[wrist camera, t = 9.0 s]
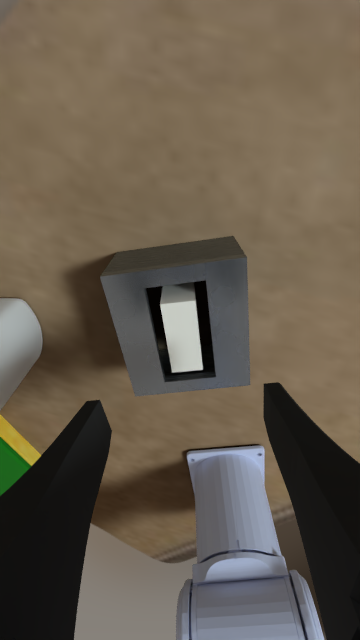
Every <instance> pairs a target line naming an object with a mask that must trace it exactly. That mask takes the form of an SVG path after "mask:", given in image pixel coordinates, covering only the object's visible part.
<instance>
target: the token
mask: <svg viewBox="0 0 360 640" xmlns="http://www.w3.org/2000/svg"><path fill="white" fill-rule="evenodd" d="M160 307H161V313H162V318H163V324H164V329H165V335H166V341H167V346H168V352H169V357H170V363H171V369H172V373H173V372H184V371H195V370H203V366H202V355H201V344H200V333H199V324H198V314H197V305H196V296H195V286H194V282H189V283H181V284H173V285H165V286H163V288H162V295H161V301H160Z"/></svg>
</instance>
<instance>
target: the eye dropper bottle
mask: <svg viewBox="0 0 360 640" xmlns="http://www.w3.org/2000/svg"><path fill="white" fill-rule="evenodd" d="M42 345H43V338H42V331H41V327H40V324H39V322H38V320H37V318H36V316H35V314H34V312H33V311H32V309H31V308H30V306H29V305H28V304H27V303H26V302H25V301H24V300H22V299H18V298H0V410H1V409H2V408H3V406H4V405H5V404H6V402H7V401H8V400H9V398H10V397H11V395H12V394H13V393H14V391H15V390H16V389H17V387H18V386H19V384H20V383H21V382H22V380H23V379H24V377H25V376H26V375H27V373H28V372H29V370H30V369H31V368H32V366H33V365H34V363H35V362H36V361H37V359H38V358H39V356H40V354H41V351H42Z"/></svg>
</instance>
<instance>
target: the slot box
mask: <svg viewBox="0 0 360 640" xmlns="http://www.w3.org/2000/svg"><path fill="white" fill-rule="evenodd" d="M100 279H101V282H102V286H103V289H104V292H105V296H106V299H107V302H108V306H109V309H110V313H111V316H112V319H113V323H114V326H115V329H116V333H117V336H118V340H119V343H120V346H121V350H122V353H123V356H124V360H125V363H126V366H127V370H128V373H129V377H130V380H131V383H132V387H133V390H134V393H135V396H144V395H154V394H164V393H174V392H185V391H195V390H205V389H215V388H225V387H236V386H246V385H250V359H249V321H248V283H247V257H246V255H245V254H244V252H243V250H242V249H241V247H240V246H239V244H238V242H237V241H236V239H235V238H234V236H231V237H224V238H216V239H209V240H202V241H195V242H188V243H180V244H173V245H166V246H159V247H152V248H144V249H137V250H130V251H123V252H117V253H116V254H115V256H114V257H113V259H112V260H111V261H110V263H109V264H108V266H107V267H106V269H105V270H104V272H103V273H102V274H101V276H100ZM205 280H206V288H207V297H208V307H209V317H210V326H211V336H212V344H208V345H201V355H202V366H203V370H195V371H184V372H173V373H172V369H171V363H170V357H169V352H168V349H163V350H159V346H158V342H157V337H156V333H155V328H154V323H153V319H152V314H151V310H150V305H149V300H148V296H147V291H146V288H150V287H158V286H165V285H173V284H181V283H189V282H197V281H205Z"/></svg>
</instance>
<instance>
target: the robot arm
mask: <svg viewBox="0 0 360 640" xmlns="http://www.w3.org/2000/svg"><path fill="white" fill-rule="evenodd" d="M264 421H265V425H266V429H267V433H268V437H269V441H270V444H271V447H272V449H273V452H274V455H275V458H276V460H277V463H278V466H279V468H280V471H281V474H282V477H283V479H284V482H285V485H286V487H287V490H288V493H289V496H290V499H291V502H292V505H293V508H294V512H295V516H296V519H297V523H298V526H299V530H300V534H301V537H302V542H303V545H304V549H305V553H306V557H307V561H308V564H309V568H310V572H311V576H312V580H313V584H314V588H315V592H316V596H317V601H318V604H319V609H320V613H321V617H322V622H323V625H324V630H325V634H326V639H327V640H360V463H358V462H357V461H356V460H355V459H353V458H352V457H351V456H350V455H349V454H347V453H346V452H345V451H344V450H343V449H342V448H340V447H339V446H338V445H337V444H336V443H335V442H334V441H333V440H332V439H331V438H330V437H328V436H327V435H326V434H325V433H324V432H323V431H322V430H321V429H320V428H319V427H318V426H317V425H316V424H315V423H314V422H313V421H312V420H311V419H310V418H309V416H308V415H307V414H306V413H305V412H304V411H303V410H302V409H301V408H300V407H299V406H298V404H297V403H296V402H295V401H294V400H293V399H292V397H291V396H290V395H289V394H288V393H287V391H286V390H285V389H284V388H283V386H282V385H281V384H280V383H268V384H264ZM111 433H112V430H111V428H110V425H109V423H108V420H107V417H106V415H105V412H104V409H103V407H102V404H101V402H100V400H94V401H87V402H86V403H85V404H84V405H83V406H82V408H81V409H80V410H79V411H78V412H77V414H76V415H75V416H74V417H73V419H72V420H71V421H70V422H69V424H68V425H67V426H66V427H65V429H64V430H63V431H62V432H61V433H60V435H59V436H58V437H57V438H56V439H55V441H54V442H53V443H52V444H51V445H50V446H49V448H48V449H47V450H46V451H45V452H44V453H43V454H42V455H41V457H40V458H39V459H38V460H37V461H36V462H35V463H34V464H33V465H32V466H31V467H30V468H29V469H28V470H27V471H26V472H25V473H24V474H23V475H22V476H21V477H20V478H19V479H18V480H17V481H16V482H15V483H14V484H13V485H12V486H11V487H10V488H9V489H8V490H6V491H5V492H4V493H3V494H2V495H1V496H0V640H74V631H75V622H76V614H77V606H78V598H79V590H80V584H81V576H82V570H83V564H84V557H85V551H86V545H87V539H88V534H89V528H90V523H91V518H92V513H93V509H94V505H95V502H96V498H97V494H98V491H99V487H100V483H101V480H102V476H103V472H104V469H105V465H106V461H107V457H108V453H109V447H110V440H111ZM187 461H188V466H189V471H190V475H191V480H192V485H193V490H194V495H195V510H196V539H197V564H193V565H192V569H193V579H187V580H186V581H185V583H184V586H183V588H182V589H181V591H180V593H179V597H178V604H177V615H176V640H324V637H323V633H322V630H321V626H320V622H319V619H318V616H317V612H316V609H315V605H314V602H313V599H312V596H311V593H310V590H309V587H308V585H307V583H306V581H305V579H304V578H303V577H302V576H301V575H299V574H298V572H297V571H296V570H291V571H289V575H288V571H287V567H286V563H285V559H284V557H283V556H281V552H280V548H279V544H278V540H277V536H276V532H275V528H274V524H273V520H272V515H271V511H270V507H269V503H268V499H267V495H266V491H265V487H264V448H263V446H260V445H258V446H246V447H233V448H221V449H209V450H197V451H189V452H187ZM289 577H290V579H289Z"/></svg>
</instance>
